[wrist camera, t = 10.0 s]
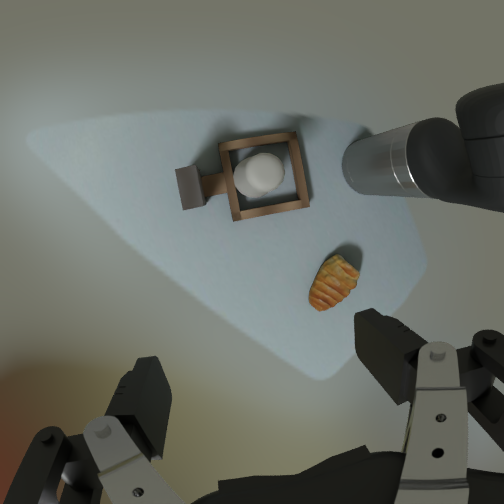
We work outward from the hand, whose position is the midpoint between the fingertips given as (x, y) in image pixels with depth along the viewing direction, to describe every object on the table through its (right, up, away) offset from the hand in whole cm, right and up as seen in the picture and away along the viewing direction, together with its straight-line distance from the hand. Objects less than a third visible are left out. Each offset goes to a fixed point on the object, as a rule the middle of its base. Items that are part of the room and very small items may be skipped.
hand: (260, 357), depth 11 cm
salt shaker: (0, +15, +31) cm, 34 cm away
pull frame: (-1, +15, +30) cm, 34 cm away
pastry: (+13, 0, +36) cm, 38 cm away
